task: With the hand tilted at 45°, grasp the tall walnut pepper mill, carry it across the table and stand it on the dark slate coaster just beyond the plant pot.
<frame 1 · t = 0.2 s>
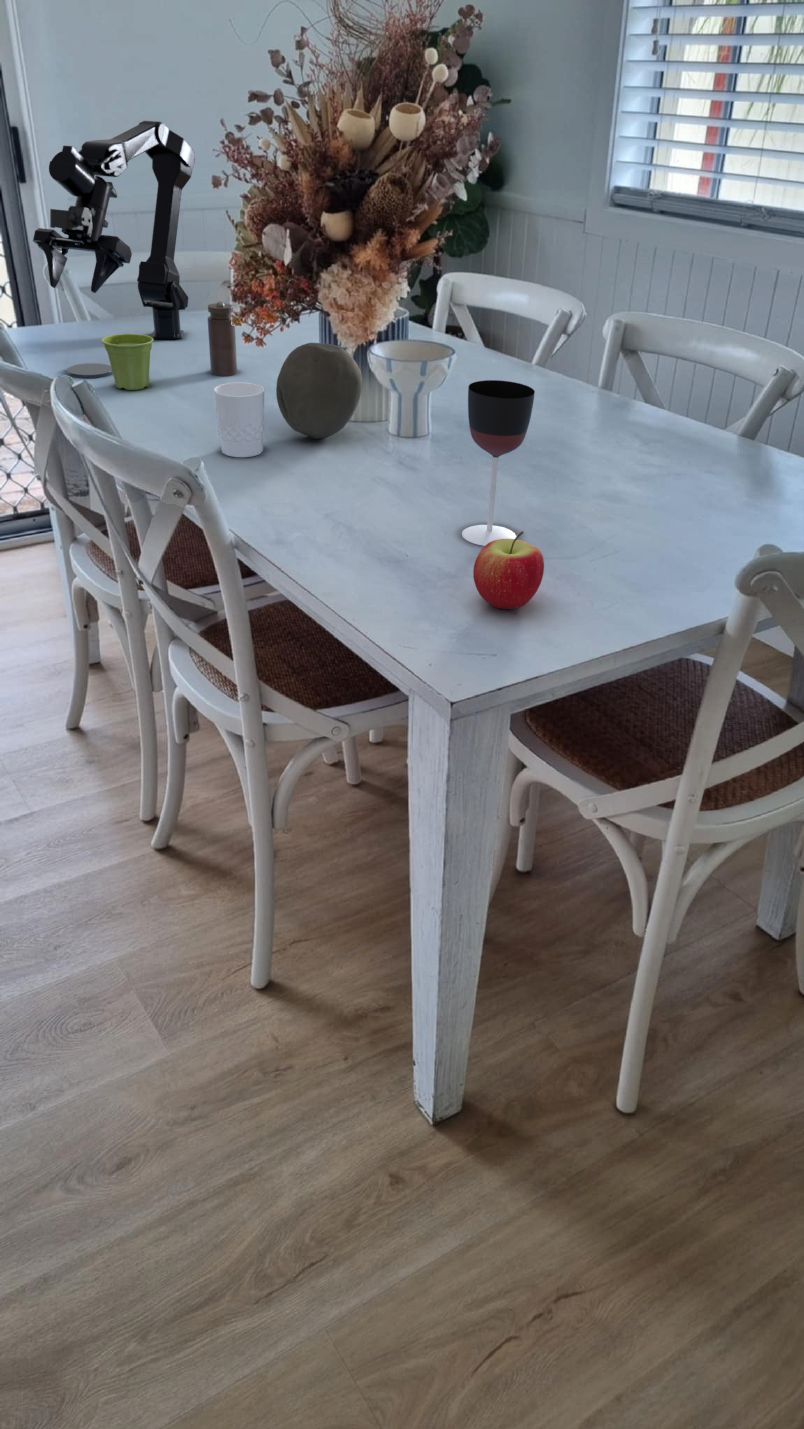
hand: (72, 289, 203), 15 cm above the table, tool tilted 35°, fingers open, 9 cm apart
coaster: (90, 372, 209), on the table
wineglass: (488, 536, 146), on the table
plant pot: (132, 387, 202), on the table
apple: (505, 605, 128), on the table
white cup: (242, 452, 172), on the table
smooth river stone: (319, 436, 181), on the table
pepper mill: (224, 372, 212), on the table
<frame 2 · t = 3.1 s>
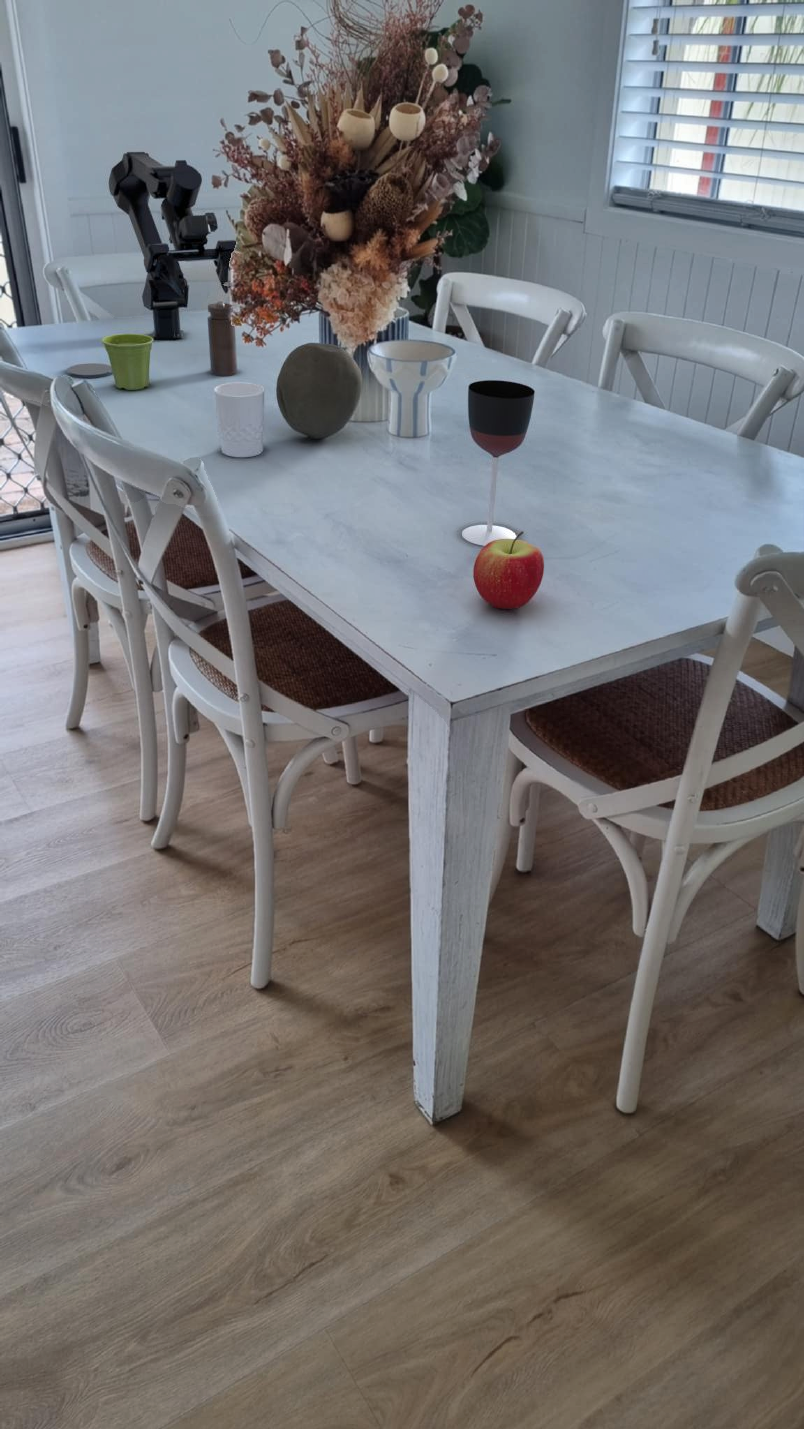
hand: (205, 293, 210), 14 cm above the table, tool tilted 45°, fingers open, 9 cm apart
nothing on the table moved.
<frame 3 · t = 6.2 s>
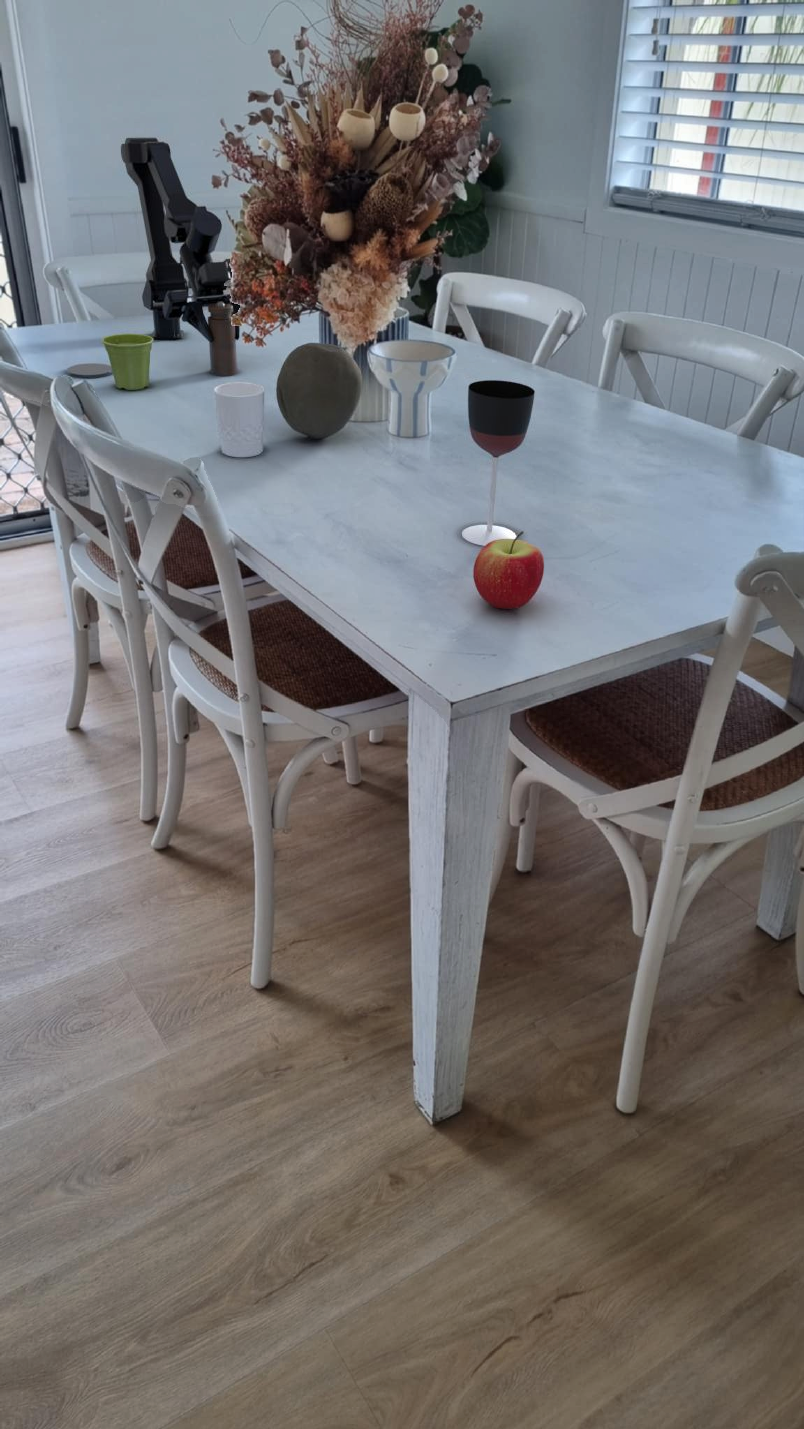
hand: (224, 340, 207), 7 cm above the table, tool tilted 45°, fingers closed on pepper mill, 5 cm apart
pepper mill: (224, 372, 212), on the table, touching gripper
everything else where it was.
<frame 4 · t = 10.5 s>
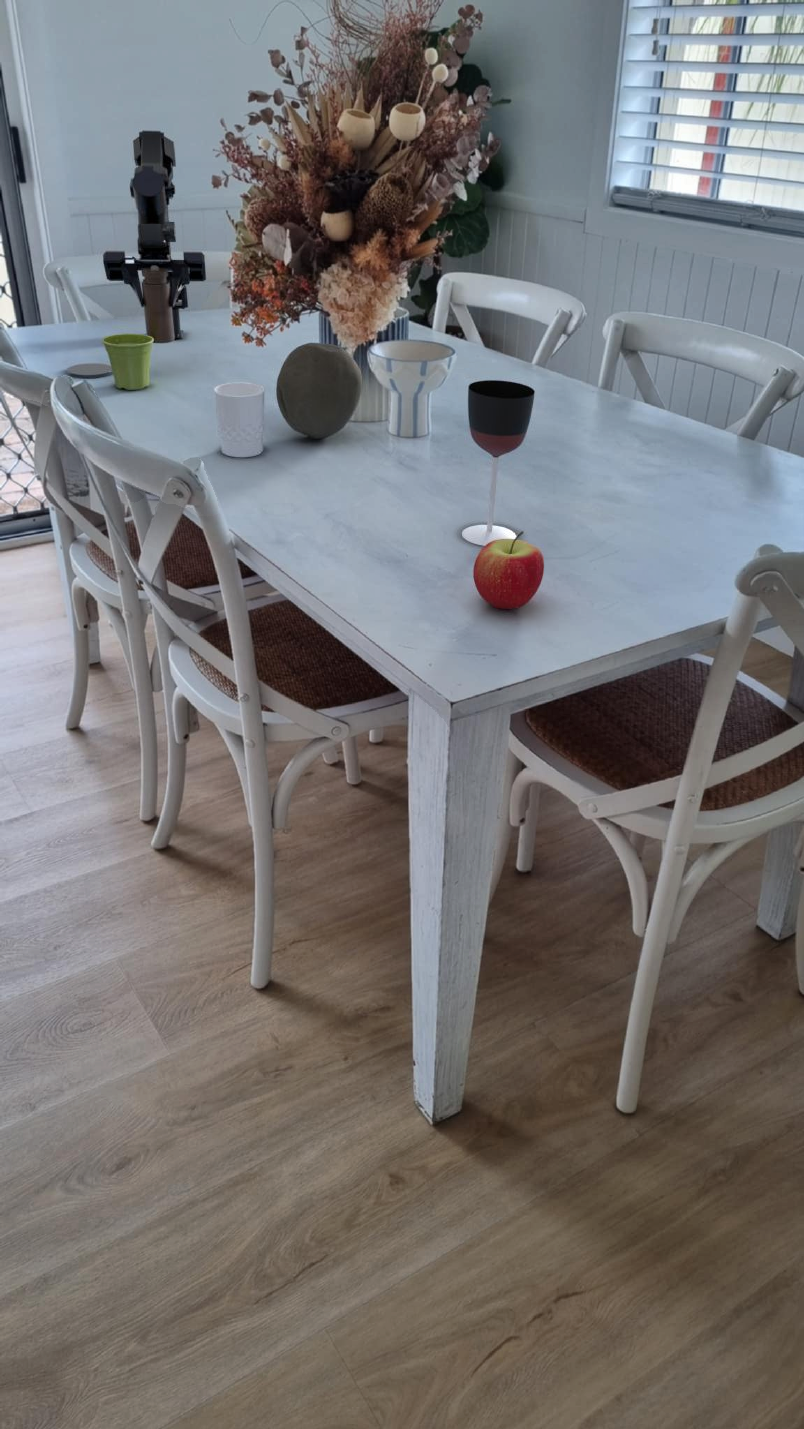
hand: (157, 306, 200), 13 cm above the table, tool tilted 45°, fingers closed on pepper mill, 5 cm apart
pepper mill: (160, 340, 205), point 7 cm above the table, touching gripper
everything else where it was.
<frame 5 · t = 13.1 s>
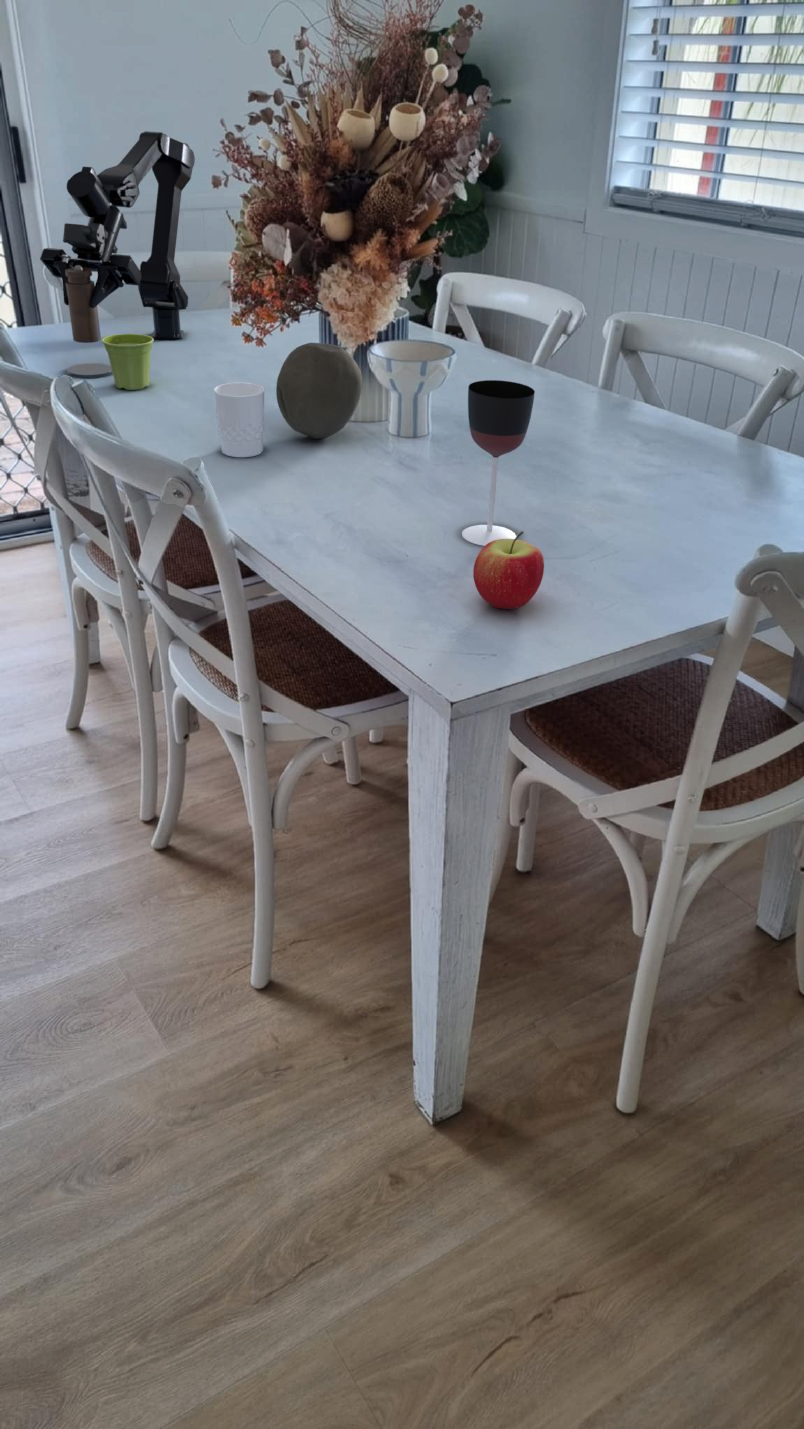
hand: (78, 305, 201), 13 cm above the table, tool tilted 45°, fingers closed on pepper mill, 5 cm apart
pepper mill: (87, 339, 206), point 6 cm above the table, touching gripper
everything else where it was.
when the fingers open (7 cm above the table, at t = 15.1 s): pepper mill stays where it is, resting on coaster.
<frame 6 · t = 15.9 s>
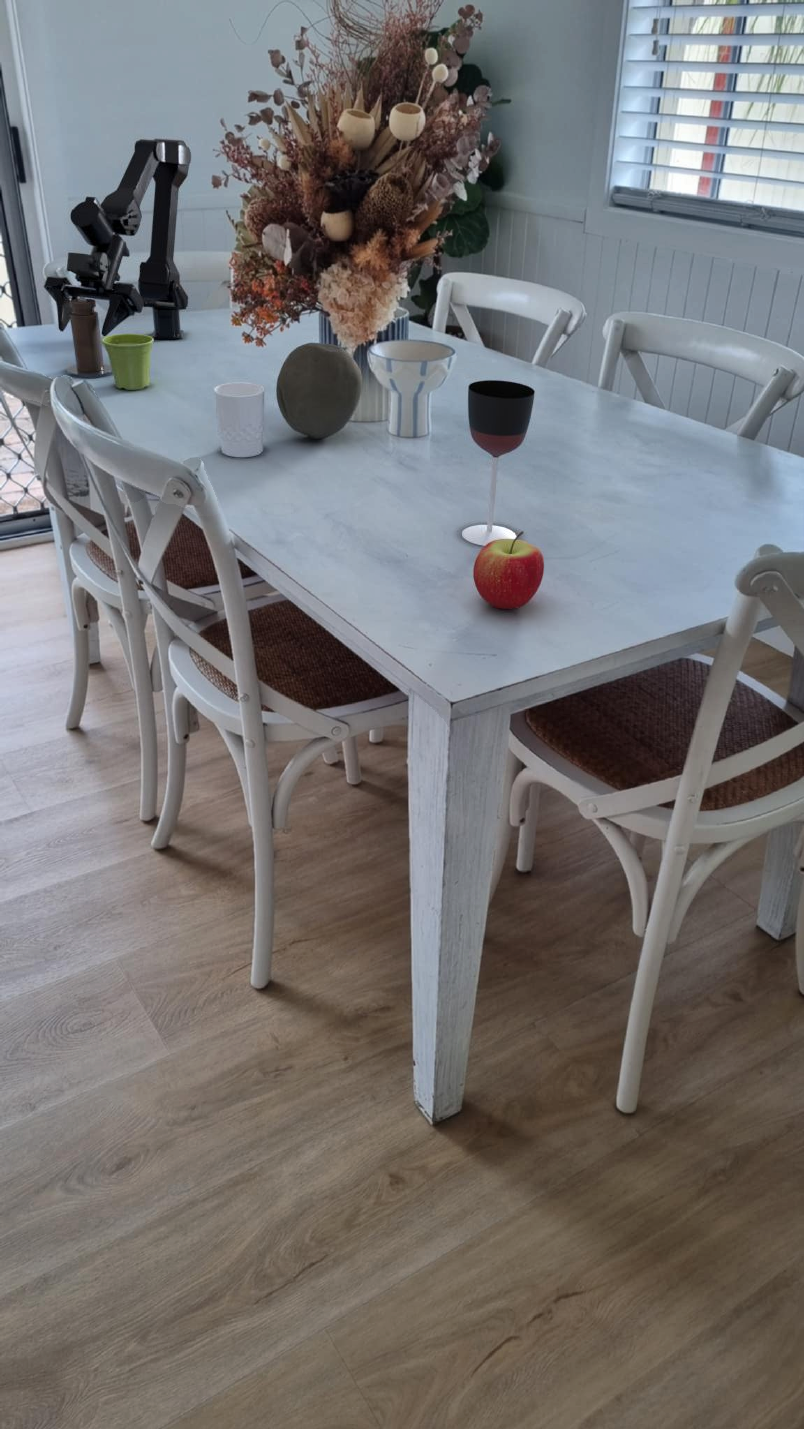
hand: (81, 332, 204), 8 cm above the table, tool tilted 45°, fingers open, 9 cm apart
pepper mill: (90, 369, 209), point 1 cm above the table, touching coaster
everything else where it was.
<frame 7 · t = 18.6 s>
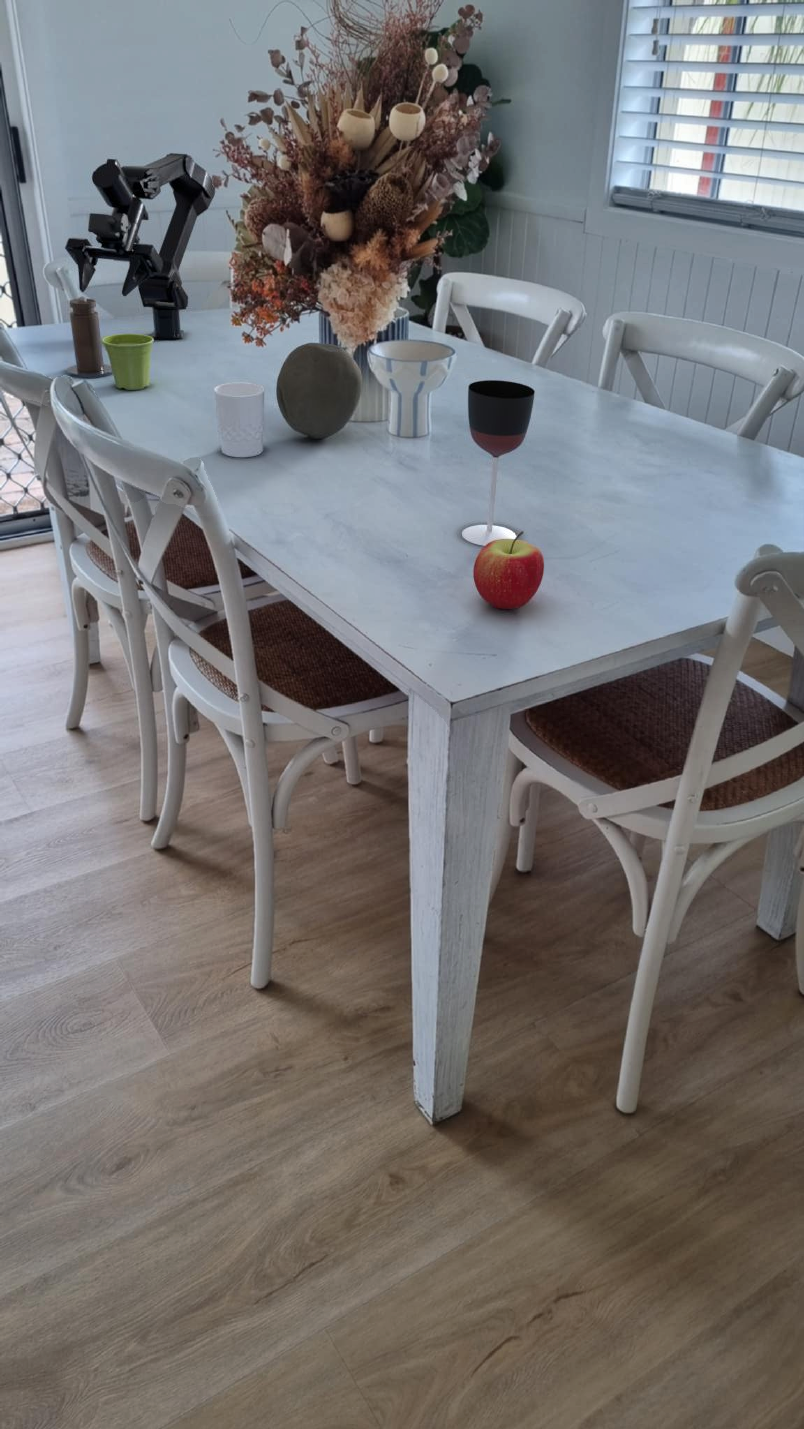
hand: (102, 292, 208), 13 cm above the table, tool tilted 45°, fingers open, 9 cm apart
nothing on the table moved.
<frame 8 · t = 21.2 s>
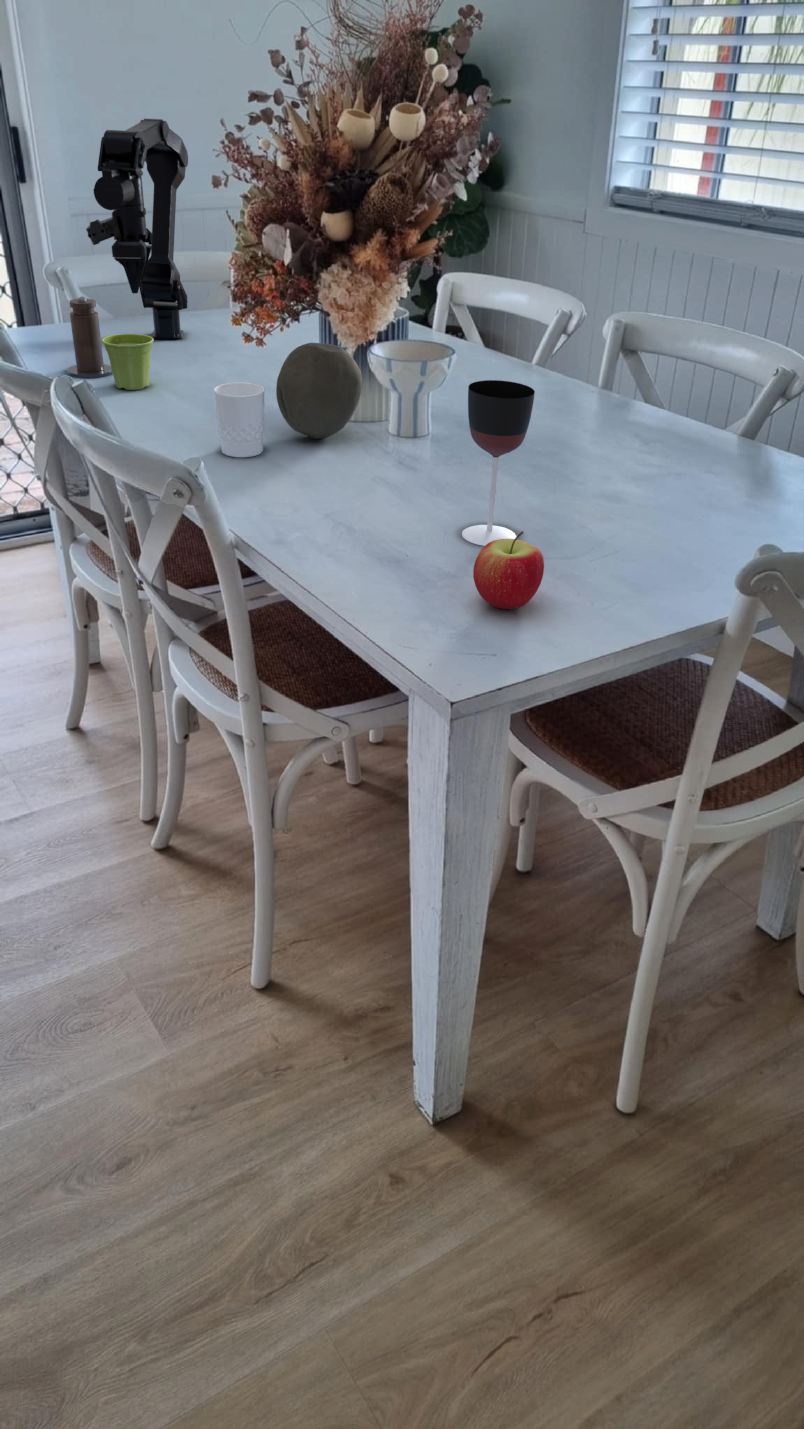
hand: (137, 288, 215), 13 cm above the table, tool pointing down, fingers open, 9 cm apart
nothing on the table moved.
at the end: pepper mill 0.1 cm off-centre on the coaster, point 0.6 cm above the coaster's base; pepper mill tilted 0°; pepper mill 13.4 cm from the plant pot (horizontally) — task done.
